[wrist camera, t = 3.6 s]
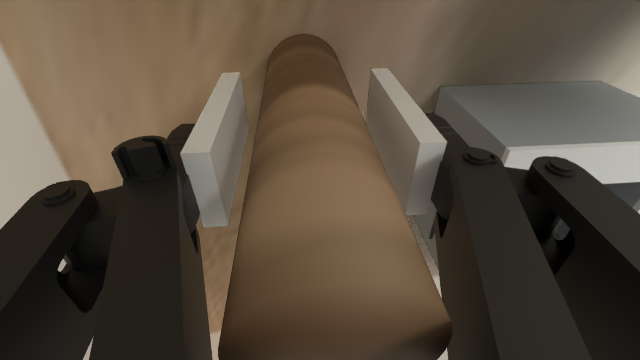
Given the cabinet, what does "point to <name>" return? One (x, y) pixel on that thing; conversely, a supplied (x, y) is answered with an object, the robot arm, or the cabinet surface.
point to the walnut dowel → (324, 232)
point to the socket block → (548, 131)
